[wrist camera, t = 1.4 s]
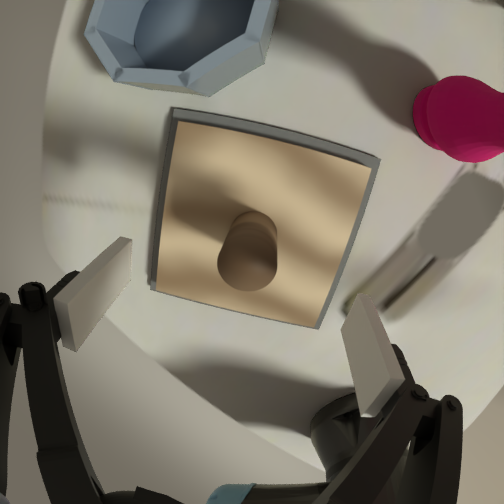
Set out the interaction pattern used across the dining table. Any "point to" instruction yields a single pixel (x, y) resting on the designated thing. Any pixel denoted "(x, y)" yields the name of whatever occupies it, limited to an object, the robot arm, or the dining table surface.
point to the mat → (276, 135)
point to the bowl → (181, 41)
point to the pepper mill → (461, 118)
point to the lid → (255, 222)
